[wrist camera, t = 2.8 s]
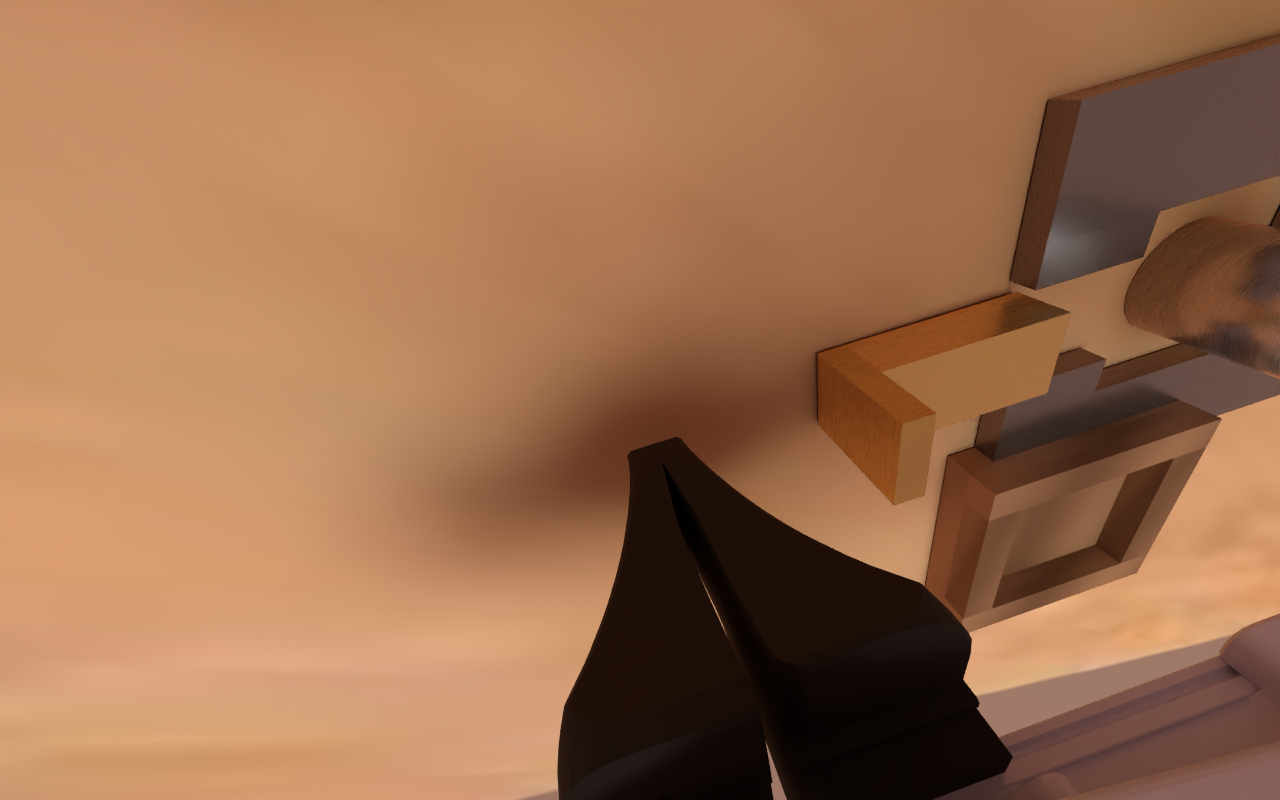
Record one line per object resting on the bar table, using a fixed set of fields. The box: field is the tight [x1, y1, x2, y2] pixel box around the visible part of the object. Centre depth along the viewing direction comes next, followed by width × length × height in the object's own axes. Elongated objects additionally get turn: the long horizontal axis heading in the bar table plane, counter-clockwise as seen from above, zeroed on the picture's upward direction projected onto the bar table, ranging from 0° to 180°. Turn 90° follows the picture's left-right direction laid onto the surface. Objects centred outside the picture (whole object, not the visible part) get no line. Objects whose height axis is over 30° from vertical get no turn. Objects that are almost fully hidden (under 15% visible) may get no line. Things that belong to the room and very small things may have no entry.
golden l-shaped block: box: [818, 292, 1071, 505], centre depth 13 cm, size 6×2×4 cm, turn 102°
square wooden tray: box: [925, 400, 1222, 633], centre depth 19 cm, size 8×8×2 cm
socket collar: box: [975, 35, 1280, 462], centre depth 15 cm, size 12×12×1 cm
